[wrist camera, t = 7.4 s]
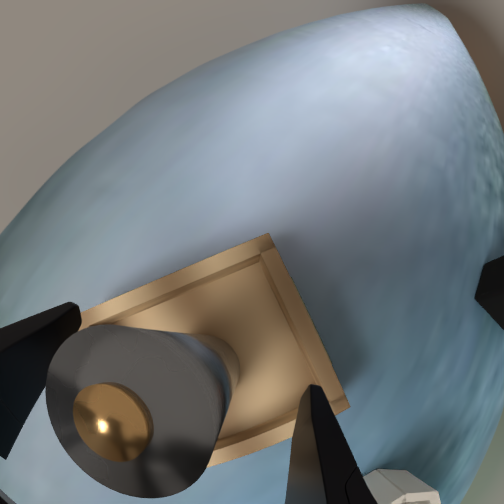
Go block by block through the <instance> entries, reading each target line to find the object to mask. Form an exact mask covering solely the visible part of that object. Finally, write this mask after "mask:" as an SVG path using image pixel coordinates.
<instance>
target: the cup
mask: <svg viewBox="0 0 504 504" xmlns="http://www.w3.org/2000/svg"><path fill="white" fill-rule="evenodd" d="M363 478H364V480H365V482H366V484H367V486H368V488H369V490H370V491H371V493H372V495H373V496H374V498H375V500H376V501H377V503H378V504H441V502H440V498H439V493H438V491H436V490H435V489H433V488H432V487H430V486H429V485H427V484H426V483H424V482H423V481H421V480H420V479H418V478H417V477H415V476H414V475H412V474H411V473H409V472H408V471H406V470H389V469H377V470H374V471H372V472H370V473H369V474H367V475H365V476H364V477H363Z"/></svg>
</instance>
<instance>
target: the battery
mask: <svg viewBox="0 0 504 504" xmlns="http://www.w3.org/2000/svg"><path fill="white" fill-rule="evenodd" d="M475 299H476V301H477V302H478V303H479V304H480V305H481V306H482V307H483V308H484V309H485V310H486V311H487V312H488V313H489V314H490V315H491V316H492V318H493V319H494V320H495V321H496V322H497V323H498V324H499V325H500V326H501V327H502V328H503V329H504V256H502V257H499V258H497V259H495V260H493V261H490V262H488V263H486V264H485V265H484V268H483V271H482V275H481V279H480V282H479V286H478V289H477V292H476V296H475Z"/></svg>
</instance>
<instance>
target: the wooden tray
mask: <svg viewBox="0 0 504 504" xmlns="http://www.w3.org/2000/svg"><path fill="white" fill-rule="evenodd" d="M81 318H82V324H81V327H80V328H79V330H78V331H80V330H82V329H85V328H87V327H90V326H96V325H106V324H112V325H120V326H128V327H135V328H143V329H151V330H160V331H169V332H179V333H190V334H202V335H212V336H215V337H218V338H220V339H222V340H224V341H226V342H227V343H228V344H229V345H230V346H231V347H232V348H233V349H234V351H235V352H236V354H237V356H238V359H239V363H240V376H239V379H238V382H237V385H236V388H235V391H234V394H233V397H232V400H231V403H230V406H229V409H228V411H227V414H226V417H225V420H224V423H223V426H222V428H221V431H220V434H219V437H218V440H217V442H216V445H215V448H214V451H213V453H212V456H211V459H210V461H209V464H208V465H207V467H210V466H214V465H217V464H221V463H224V462H227V461H230V460H233V459H236V458H239V457H242V456H245V455H248V454H251V453H253V452H256V451H259V450H261V449H264V448H267V447H269V446H272V445H274V444H276V443H279V442H281V441H284V440H286V439H288V438H290V437H293V432H294V427H295V422H296V418H297V413H298V408H299V403H300V399H301V396H302V395H303V393H304V392H305V390H306V389H307V387H308V386H309V385H310V384H315V385H319V386H321V387H322V389H323V391H324V393H325V395H326V397H327V399H328V402H329V404H330V406H331V408H332V410H333V413H334V415H337V414H339V413H341V412H342V411H344V410H346V409H348V408H349V407H350V405H349V402H348V400H347V398H346V396H345V393H344V391H343V389H342V387H341V384H340V382H339V380H338V378H337V376H336V373H335V371H334V369H333V367H332V365H331V364H332V362H331V360H330V358H329V356H328V354H327V351H326V349H325V347H324V345H323V343H322V341H321V338H320V336H319V334H318V332H317V330H316V328H315V326H314V323H313V321H312V319H311V317H310V315H309V313H308V311H307V309H306V307H305V304H304V302H303V300H302V298H301V296H300V294H299V292H298V290H297V288H296V286H295V284H294V282H293V279H292V277H291V278H290V275H289V273H288V271H287V269H286V267H285V265H284V263H283V261H282V259H281V257H280V255H279V253H278V251H277V249H276V247H275V245H274V243H273V241H272V239H271V237H270V235H269V233H267V234H264V235H262V236H259V237H257V238H255V239H252V240H250V241H247V242H245V243H243V244H240V245H238V246H235V247H233V248H231V249H228V250H226V251H223V252H221V253H219V254H216V255H214V256H212V257H209V258H207V259H204V260H202V261H200V262H197V263H195V264H193V265H190V266H188V267H185V268H183V269H181V270H178V271H176V272H174V273H171V274H169V275H167V276H164V277H162V278H160V279H157V280H155V281H153V282H150V283H148V284H146V285H143V286H141V287H139V288H136V289H134V290H132V291H129V292H127V293H125V294H123V295H120V296H118V297H116V298H113V299H111V300H109V301H106V302H104V303H102V304H100V305H97V306H95V307H93V308H90V309H88V310H86V311H84V312H81ZM207 467H206V468H207Z"/></svg>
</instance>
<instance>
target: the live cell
mask: <svg viewBox="0 0 504 504" xmlns="http://www.w3.org/2000/svg"><path fill="white" fill-rule="evenodd" d="M239 376H240V363H239V359H238V356H237V354H236V352H235V351H234V349H233V348H232V347H231V346H230V345H229V344H228V343H227V342H226V341H224V340H222V339H220V338H218V337H215V336H212V335H202V334H190V333H179V332H169V331H160V330H151V329H143V328H135V327H128V326H120V325H112V324H106V325H96V326H90V327H87V328H85V329H82V330H80V331H78V332H76V333H74V334H73V335H72V336H70V337H69V338H68V339H66V340H65V341H64V343H63V344H62V345H61V346H60V347H59V349H58V350H57V352H56V353H55V355H54V357H53V359H52V361H51V363H50V366H49V370H48V373H47V379H46V404H47V409H48V414H49V417H50V421H51V424H52V426H53V429H54V431H55V434H56V436H57V437H58V439H59V441H60V443H61V445H62V446H63V448H64V449H65V451H66V452H67V453H68V455H69V456H70V457H71V458H72V460H73V461H74V462H75V463H76V464H77V465H78V466H79V467H80V468H81V469H82V470H83V471H84V472H85V473H87V474H88V475H89V476H90V477H92V478H93V479H95V480H96V481H97V482H99V483H101V484H102V485H104V486H106V487H108V488H110V489H112V490H114V491H117V492H119V493H122V494H126V495H129V496H134V497H140V498H161V497H167V496H171V495H174V494H177V493H179V492H181V491H183V490H185V489H187V488H188V487H190V486H191V485H192V484H193V483H195V482H196V481H197V480H198V479H199V478H200V476H201V475H202V474H203V472H204V471H205V469H206V467H207V465H208V464H209V461H210V459H211V456H212V453H213V451H214V448H215V445H216V442H217V440H218V437H219V434H220V431H221V428H222V426H223V423H224V420H225V417H226V414H227V411H228V409H229V406H230V403H231V400H232V397H233V394H234V391H235V388H236V385H237V382H238V379H239Z"/></svg>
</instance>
